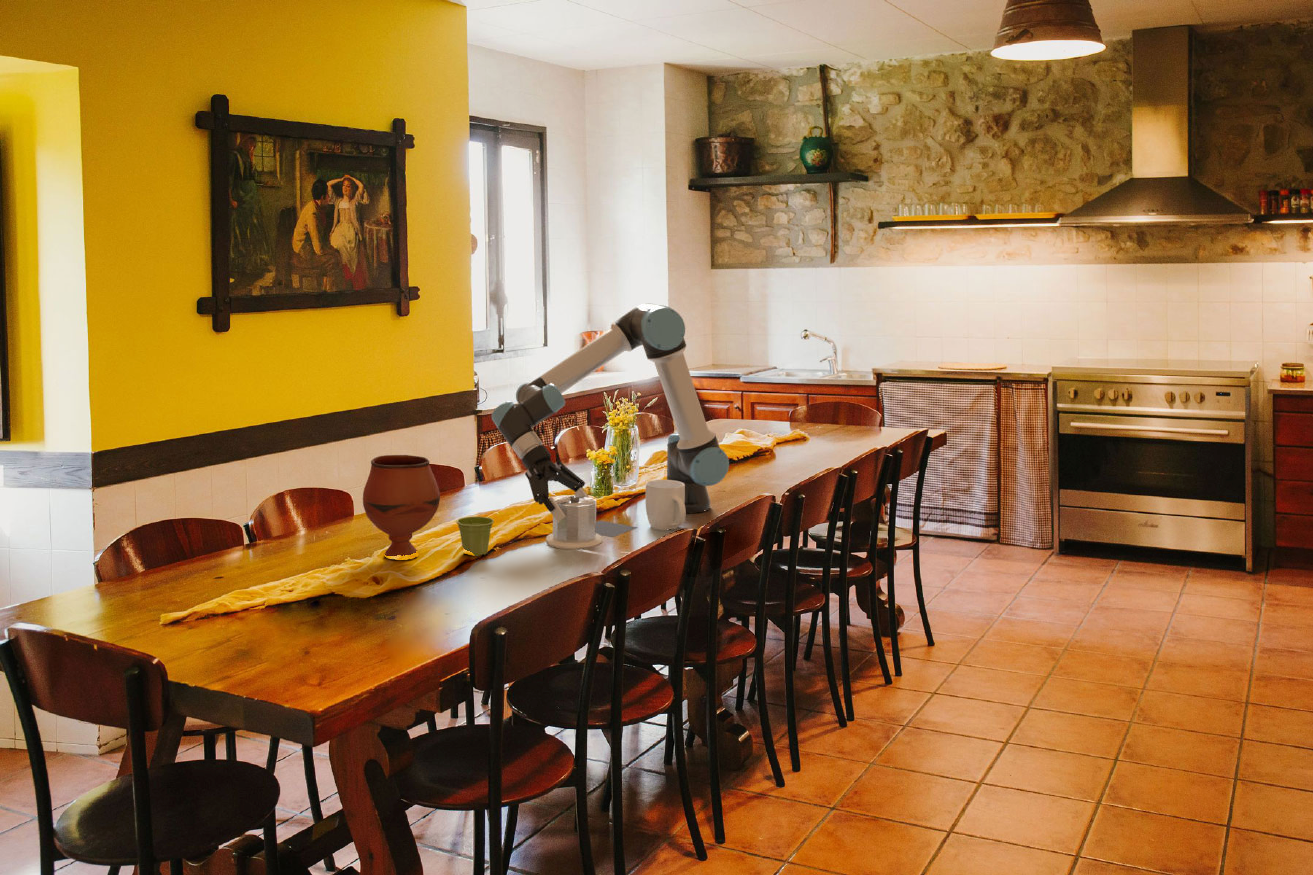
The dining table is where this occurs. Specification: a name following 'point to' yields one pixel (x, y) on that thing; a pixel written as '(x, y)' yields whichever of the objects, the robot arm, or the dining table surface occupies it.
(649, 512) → the mug
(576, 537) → the cover
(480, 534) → the plant pot
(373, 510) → the goblet
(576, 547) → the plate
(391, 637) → the dining table surface
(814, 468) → the dining table surface
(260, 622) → the dining table surface
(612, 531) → the mat
